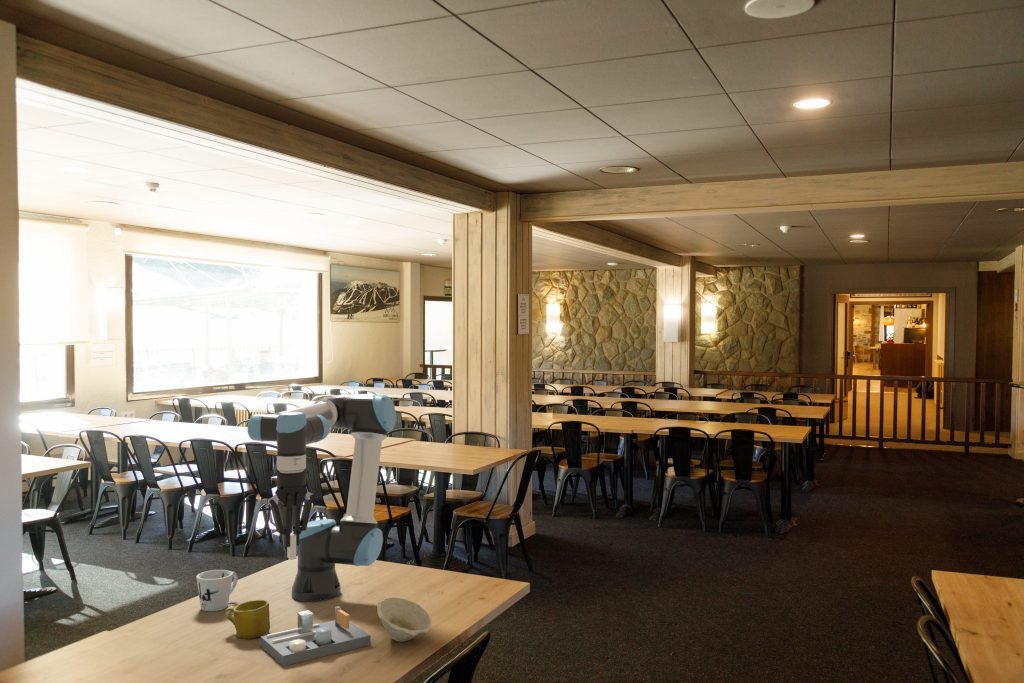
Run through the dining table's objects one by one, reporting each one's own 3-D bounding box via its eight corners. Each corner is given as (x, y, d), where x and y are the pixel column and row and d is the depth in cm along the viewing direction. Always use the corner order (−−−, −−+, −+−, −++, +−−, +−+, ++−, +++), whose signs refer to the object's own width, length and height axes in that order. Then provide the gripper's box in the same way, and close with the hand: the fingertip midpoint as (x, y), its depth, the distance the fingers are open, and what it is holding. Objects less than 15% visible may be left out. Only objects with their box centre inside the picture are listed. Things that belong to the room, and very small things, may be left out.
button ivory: (287, 654, 202) (287, 641, 202) (302, 651, 204) (302, 638, 204) (293, 659, 198) (293, 646, 199) (308, 656, 201) (308, 643, 201)
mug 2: (284, 622, 221) (271, 591, 219) (262, 646, 212) (248, 614, 210) (249, 624, 226) (237, 594, 224) (227, 647, 217) (213, 616, 214)
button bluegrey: (313, 642, 206) (313, 629, 206) (327, 638, 208) (327, 626, 208) (319, 646, 203) (319, 634, 203) (334, 643, 205) (334, 630, 205)
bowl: (406, 654, 204) (406, 615, 204) (365, 643, 211) (366, 605, 211) (441, 636, 217) (441, 600, 217) (402, 626, 224) (402, 591, 224)
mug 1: (188, 610, 236) (188, 576, 236) (223, 595, 249) (224, 564, 249) (215, 615, 232) (215, 581, 232) (250, 600, 245) (250, 568, 246)
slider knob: (297, 631, 212) (297, 612, 212) (308, 629, 214) (308, 610, 214) (301, 635, 210) (301, 615, 210) (313, 632, 212) (313, 613, 212)
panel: (260, 645, 209) (260, 634, 209) (344, 627, 223) (344, 616, 223) (282, 666, 196) (282, 653, 196) (370, 644, 210) (370, 633, 210)
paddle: (334, 624, 218) (334, 607, 218) (338, 623, 218) (339, 606, 218) (345, 632, 212) (345, 614, 212) (349, 631, 213) (350, 613, 213)
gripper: (272, 475, 204) (272, 566, 205) (320, 470, 212) (320, 557, 212) (262, 470, 210) (262, 559, 211) (309, 465, 218) (309, 550, 219)
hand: (291, 558), depth 212 cm, fingers closed
